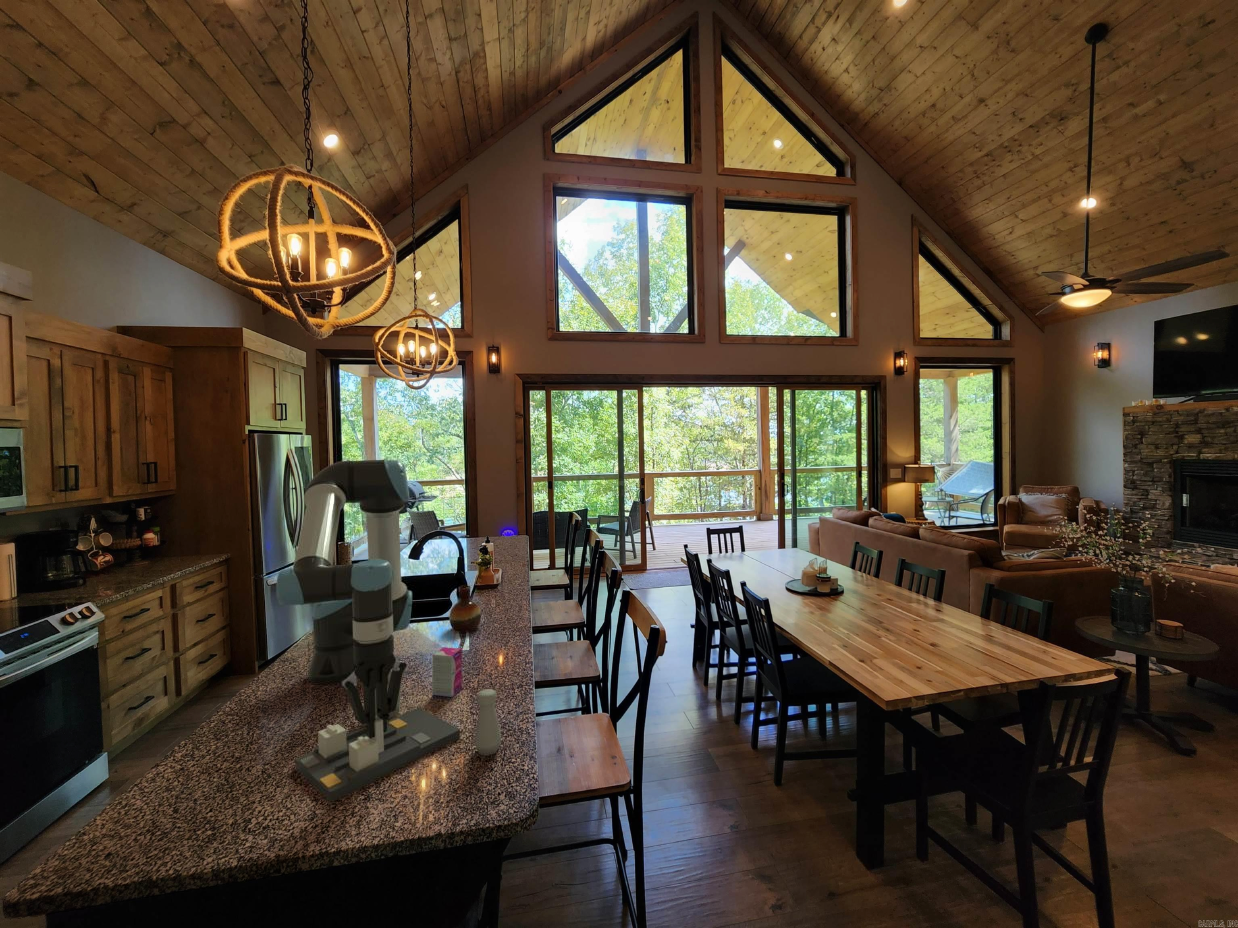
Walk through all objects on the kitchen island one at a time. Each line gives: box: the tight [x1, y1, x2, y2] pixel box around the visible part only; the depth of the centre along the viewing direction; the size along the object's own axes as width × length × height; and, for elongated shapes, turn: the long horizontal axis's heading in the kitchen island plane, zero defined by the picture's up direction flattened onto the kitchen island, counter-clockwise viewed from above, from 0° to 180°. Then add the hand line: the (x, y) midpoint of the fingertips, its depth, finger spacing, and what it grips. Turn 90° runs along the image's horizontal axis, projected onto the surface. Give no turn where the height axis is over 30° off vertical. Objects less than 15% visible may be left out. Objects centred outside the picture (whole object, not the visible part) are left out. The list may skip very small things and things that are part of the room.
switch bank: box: [294, 706, 461, 804], centre depth 116 cm, size 17×28×3 cm, turn 140°
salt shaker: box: [473, 688, 502, 757], centre depth 116 cm, size 6×6×13 cm
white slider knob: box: [317, 723, 347, 758], centre depth 113 cm, size 4×4×5 cm
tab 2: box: [349, 736, 379, 772], centre depth 108 cm, size 4×4×5 cm
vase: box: [448, 585, 482, 633], centre depth 195 cm, size 11×11×15 cm
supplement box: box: [432, 646, 463, 699], centre depth 144 cm, size 6×6×12 cm
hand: (377, 749), depth 110 cm, fingers closed
